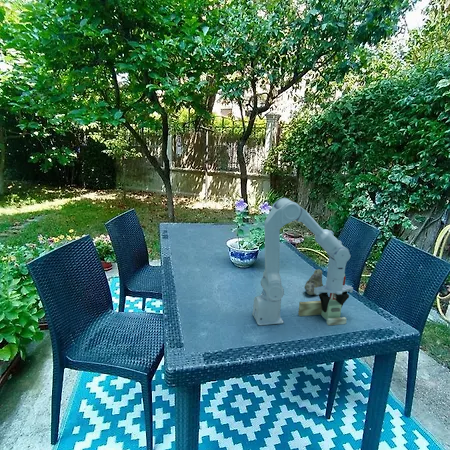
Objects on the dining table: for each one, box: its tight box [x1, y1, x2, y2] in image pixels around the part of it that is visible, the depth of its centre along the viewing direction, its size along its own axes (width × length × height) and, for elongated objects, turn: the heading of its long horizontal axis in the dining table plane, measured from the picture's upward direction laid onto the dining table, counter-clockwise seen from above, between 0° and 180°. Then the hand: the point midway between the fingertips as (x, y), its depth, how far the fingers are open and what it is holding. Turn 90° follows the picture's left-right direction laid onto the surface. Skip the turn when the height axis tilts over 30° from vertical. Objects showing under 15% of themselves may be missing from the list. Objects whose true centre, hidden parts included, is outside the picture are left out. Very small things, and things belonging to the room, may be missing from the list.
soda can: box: [329, 273, 347, 300], centre depth 122 cm, size 5×5×12 cm
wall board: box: [297, 300, 347, 326], centre depth 108 cm, size 16×9×5 cm, turn 101°
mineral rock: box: [304, 268, 324, 296], centre depth 130 cm, size 13×11×10 cm
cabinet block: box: [320, 300, 343, 321], centre depth 108 cm, size 5×5×6 cm
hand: (330, 310), depth 109 cm, fingers closed on cabinet block, 5 cm apart
